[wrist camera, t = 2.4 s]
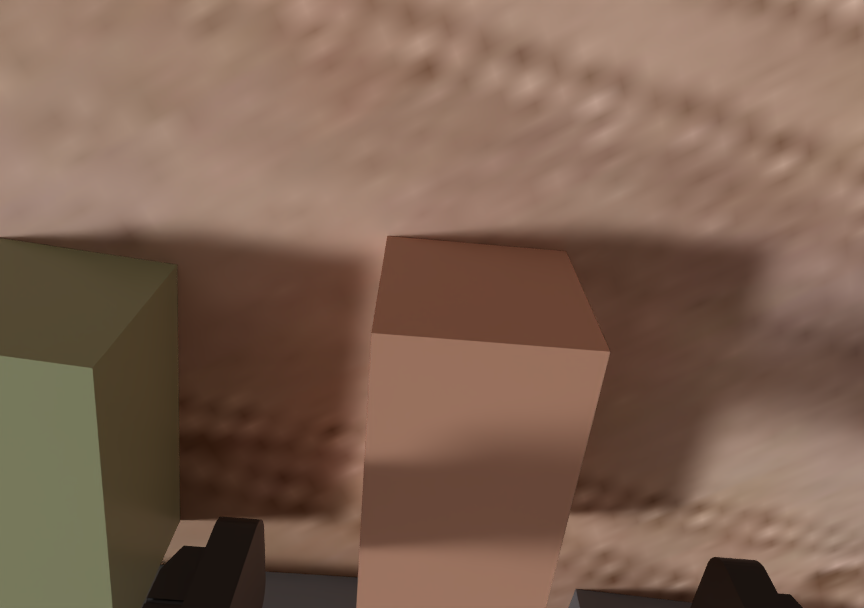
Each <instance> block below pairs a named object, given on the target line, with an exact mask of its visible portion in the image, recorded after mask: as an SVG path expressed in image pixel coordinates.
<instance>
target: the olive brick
mask: <svg viewBox="0 0 864 608" xmlns="http://www.w3.org/2000/svg"><path fill="white" fill-rule="evenodd" d="M179 522H180V466H179V380H178V294H177V265H176V264H169V263H162V262H156V261H149V260H142V259H136V258H129V257H122V256H116V255H109V254H103V253H96V252H89V251H83V250H76V249H69V248H63V247H56V246H49V245H43V244H36V243H30V242H23V241H16V240H10V239H3V238H0V608H141V607H142V604H143V602H144V600H145V598H146V596H147V593H148V591H149V589H150V587H151V584H152V582H153V580H154V578H155V575H156V573H157V571H158V569H159V566H160V564H161V562H162V560H163V557H164V555H165V553H166V551H167V548H168V546H169V544H170V542H171V540H172V537H173V535H174V533H175V531H176V528H177V526H178V524H179Z"/></svg>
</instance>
